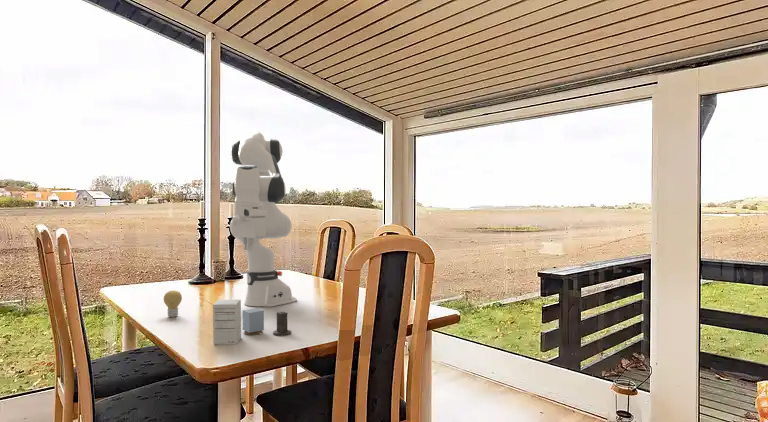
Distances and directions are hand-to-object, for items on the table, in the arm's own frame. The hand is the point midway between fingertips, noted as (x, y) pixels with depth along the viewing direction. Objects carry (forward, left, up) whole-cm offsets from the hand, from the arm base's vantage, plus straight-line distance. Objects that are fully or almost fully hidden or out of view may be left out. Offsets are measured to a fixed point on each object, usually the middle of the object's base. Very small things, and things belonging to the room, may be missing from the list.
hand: (248, 250), depth 172 cm
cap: (+2, +8, -26) cm, 27 cm away
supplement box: (+13, +12, -27) cm, 32 cm away
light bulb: (+15, -34, -27) cm, 46 cm away
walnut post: (+2, +8, -27) cm, 28 cm away
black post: (-5, +15, -27) cm, 31 cm away
